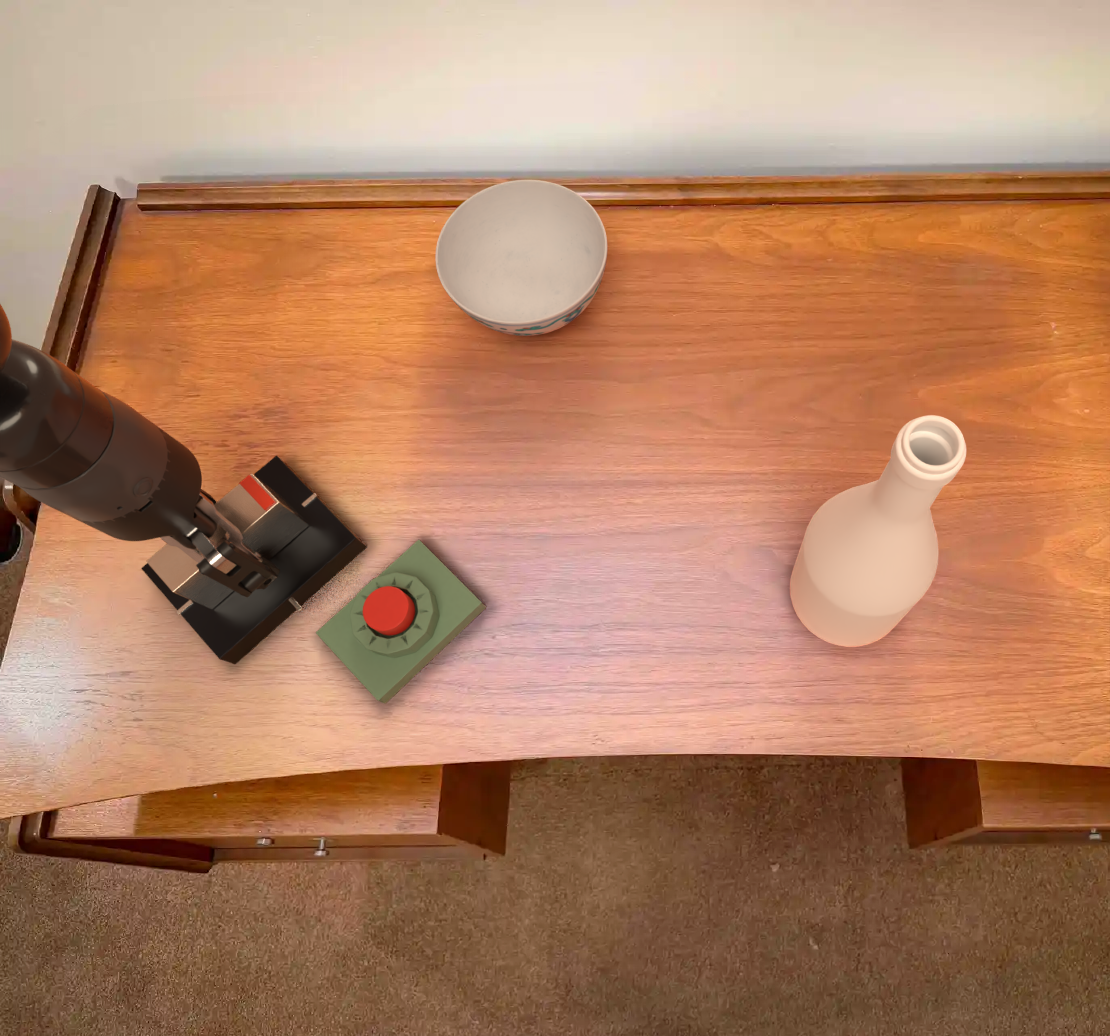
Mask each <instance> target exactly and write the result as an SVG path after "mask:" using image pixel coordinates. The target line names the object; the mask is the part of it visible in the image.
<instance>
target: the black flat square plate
mask: <svg viewBox="0 0 1110 1036" xmlns="http://www.w3.org/2000/svg"><path fill="white" fill-rule="evenodd" d="M253 474H254V475H255V476H256V477H258V478H259V479H260V480H261V481H263V482H264V483H265V484H266V485H268V486H269V487H270V488H272V489H273V490H274V491H275V492H277V493H278V494H279V495H280V496H282V497H283V498H284V499H285V500H286V501H287V502H288V503H289V504H290V505H291V506H292V507H293V508H294V509H295V510H296V512H297V513H298V514H299V515H300V516H301V517H302V518H303V519H304V520H305V521H306V522H307V523H308V524H309V526H308V527H307V528H306V529H304V530H303V531H302V532H301V533H300V534H299V535H298V536H296V537H295V538H294V539H293V540H292V541H291V542H289V543H288V544H287V545H286V546H285V547H284V548H283V549H281V550H280V551H279V552H278V553H277V554H276V555H274V556H273V557H272V558H271V559H270V560H269V561H270V562H272V563H273V564H275V565H276V566H277V568H278V569H279V570H280V573H279V574H278V575H277V576H278V578H277V579H276V580H274V581H273V582H272V583H271V584H270V585H269V586H268V587H266V588H265V589H256V590H255V591H253V592H252V594H251V595H250V596H249V597H245V596H243V595H240V594H239V593H237V592H235V591H233V592H232V593H231V594H229V595H228V596H227V597H226V598H225V599H224V600H223V601H221V602H220V603H219V604H218V605H217V606H216V607H214V608H213V609H209V608H207V607H205V606H203V605H201V604H198V603H196V602H194V601H192V600H189V599H187V598H185V597H183V596H180V595H178V594H176V593H174V592H172V591H171V589H170V588H169V587H168V586H167V585H166V584H165V582H164V581H163V580H162V579H161V578H160V577H159V576H158V574H157V573H156V572H155V571H154V570H153V569H152V567H151V566H150V565H149V564H148V563H147V562H146V563H145V564H144V565H142V567H141V568H140V570H142V571H143V572H144V574H145V575H146V576H147V577H148V578H149V579H150V581H151V583H153V584H154V585H155V586H156V588H157V589H158V590H159V591H160V592H161V593H162V594H163V596H164V597H165V598H166V599H167V600H168V601H169V603H170V604H171V605H172V606H173V607H174V608H175V610H176V611H175V613H176V614H177V615H178V616H180V615H181V617H182V618H183V619H184V620H185V621H186V623H187V624H188V625H189V626H190V627H191V628H192V630H194V632H196V634H197V635H198V636H199V637H200V639H201V640H202V641H203V642H204V643H205V645H206V646H207V647H208V648H209V649H210V650H211V652H213V654H214V655H215V656H216V657H217V659H219V660H221V661H224V662H226V663H230V664H233V665H237V664H238V663H239V662H240V661H241V660H242V659H244V657H246V656H247V655H248V654H249V653H250V652H251V651H252V650H253V649H255V648H256V647H257V646H258V645H259V644H260V643H262V642H263V640H265V639H266V638H267V637H268V636H270V634H271V633H273V632H274V631H275V630H276V629H277V628H278V627H279V626H280V625H282V624H283V623H284V622H285V621H286V620H287V619H288V618H290V616H291V615H293V614H294V613H295V612H296V611H298V612H301V611H303V609H304V608H303V607H302V606H303V605H305V603H306V602H307V601H309V600H310V599H311V598H312V597H313V596H314V595H315V594H316V593H317V592H319V591H320V590H321V589H322V588H323V587H324V586H325V585H326V584H327V583H329V582H330V581H331V580H332V579H333V578H334V577H336V575H337V574H339V573H340V572H341V571H342V570H343V569H344V568H346V566H348V565H349V564H350V563H351V562H352V561H354V560H355V559H356V558H357V557H358V556H359V555H360V554H361V553H362V552H363V551H364V550H366V549H367V548H368V546H367V545H366V544H365V543H364V542H363V541H362V540H361V538H359V537H358V536H357V534H355V533H354V531H353V530H351V528H350V527H349V526H348V525H347V524H346V523H345V522H344V521H343V520H342V519H341V518H340V517H339V516H338V515H337V514H336V513H335V512H334V510H332V509H331V507H329V506H328V505H327V503H326V502H325V501H324V500H323V499H322V498H320V496H319V495H318V494H317V493H316V492H315V491H314V490H313V489H312V488H311V487H310V486H309V485H308V484H307V483H306V481H304V480H303V479H302V478H301V477H300V475H298V474H297V472H295V471H294V470H293V468H291V466H289V465H288V464H287V463H286V462H285V461H284V460H283V459H282V458H281V457H280V456H278V455H274V457H272V458H271V459H270V460H269V461H268V462H266V463H265V464H264V465H263V466H262V467H260V468H259V469H258V470H257V471H255V473H253Z"/></svg>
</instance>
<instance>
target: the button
mask: <svg viewBox="0 0 1110 1036" xmlns="http://www.w3.org/2000/svg"><path fill="white" fill-rule="evenodd" d="M414 616H415V606H414V603H413V601H412V599H411V598H410V597H409V596H408V595H407V594H405V593H404V592H403V591H401V590H400V589H398V588H396V587H392V586H385V587H381V588H378V589H376V590H375V591H373V592H372V593H371V594H370V595H369V596H368V597H367V599H366V600H365V603H364V606H363V617H364V620H365V622H366V623H367V624H368V625H369V626H370V627H371V628H373V629H374V630H376V631H377V632H379V633H381V634H384V635H396V634H399V633H401V632H403V631H405V630H406V629H407V628H408V627H409V626H410V625H411V623H412V621H413V619H414Z"/></svg>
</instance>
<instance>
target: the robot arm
mask: <svg viewBox="0 0 1110 1036" xmlns="http://www.w3.org/2000/svg"><path fill="white" fill-rule="evenodd" d="M0 478H1V479H3V480H5V481H7V482H8V483H11V484H13V485H15V486H16V487H18V488H20V489H21V490H22V491H24V492H25V493H26V494H27V495H29V496H30V497H32V498H33V499H35V500H37V501H38V502H40V503H42V504H44V505H46V506H47V507H49V508H52V509H54V510H56V511H58V512H60V513H62V514H64V515H66V516H68V517H70V518H72V519H74V520H77V521H78V522H81V523H82V524H85V525H86V526H89V527H91V528H93V529H95V530H97V531H99V532H101V533H103V534H105V535H107V536H109V537H111V538H114V539H116V540H120V541H126V542H144V541H145V542H146V541H149V540H153V539H154V540H155V539H159V538H160V539H161V540H162V541H163V542H165V544H169V545H170V546H177V547H179V548H180V549H181V550H182V551H184V552H185V553H186V554H187V555H189V556H190V557H191V558H192V559H194V560H195V561H196V562H198V564H197V565H196V566H197V568H198V569H199V572H200V573H201V574H203V575H206V576H208V577H209V578H211V579H213V580H215V581H217V582H219V583H221V584H222V585H224V586H226V587H228V588H230V589H232V590H234V591H235V592H237V593H239V594H240V595H243V596H245V597H249V596H250V595H251V594H252V592H253V591H255V590H256V589H265V588H266V587H268V586H269V585H270V584H271V583H272V582H273V581H274V580H276V579H277V578H278V576H277V575H278V574H279V573H280V570H279V569H278V568H277V566H276V565H275V564H273V563H272V562H270V561H268V560H267V559H265V558H263V557H262V556H261V555H260V554H259V553H258V552H254V551H253V550H252V549H251V548H250V547H248V546H247V545H246V544H245V543H244V542H242V540H243V536H242V534H241V532H240V530H239V529H238V528H237V527H236V526H234V525H233V524H232V523H231V522H230V521H228V520H227V519H226V518H225V517H224V516H223V515H221V514H220V513H219V512H218V511H217V510H216V508H215V506H214V504H215V503H217V500H216V499H215V498H214V497H213V495H211V494H210V493H208V492H207V491H205V490H204V489H202V483H203V476H202V469H201V466H200V463H199V461H198V459H197V458H196V456H195V455H194V454H193V452H192V451H191V450H190V449H189V448H188V447H187V446H185V445H184V444H183V443H181V442H180V441H179V440H177V439H176V438H174V437H173V436H172V435H170V434H169V433H167V432H166V431H164V430H163V429H162V428H161V427H159V426H158V425H156V424H155V423H154V422H152V421H151V420H150V419H148V418H147V417H146V416H144V415H143V414H142V413H140V412H139V411H137V410H136V409H135V408H133V407H132V406H131V405H129V404H127V403H126V402H124V401H123V400H121V399H119V398H117V397H115V396H113V395H111V394H109V393H107V392H105V391H103V390H101V389H99V387H96V386H95V385H93V384H92V383H91V382H89V381H88V380H86V379H85V378H83V376H81V375H80V374H78V373H77V372H75V371H74V370H72V369H71V368H70V367H68V366H67V365H65V364H64V363H63V362H62V361H60V360H59V359H57V358H56V357H54V356H52V355H50V353H49V354H48V353H47V352H45V351H44V350H41V349H39V348H37V347H35V346H33V345H30V344H28V343H26V342H22V341H19V340H16V339H13V336H12V328H11V324H10V320H9V318H8V316H7V314H6V311H5V309H4V307H3V306H2V304H1V303H0ZM217 524H218V525H220V526H221V527H222V528H223V529H224V530H226V531H227V532H226V534H225V535H224V536H223V537H222V538H221V539H220V540H218V541H217V542H216V543H215V542H214V541H213V540H212V539H211V538H210V537H212V536H213V534H214V533H215V531H216V530H217V527H218V526H217Z"/></svg>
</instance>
